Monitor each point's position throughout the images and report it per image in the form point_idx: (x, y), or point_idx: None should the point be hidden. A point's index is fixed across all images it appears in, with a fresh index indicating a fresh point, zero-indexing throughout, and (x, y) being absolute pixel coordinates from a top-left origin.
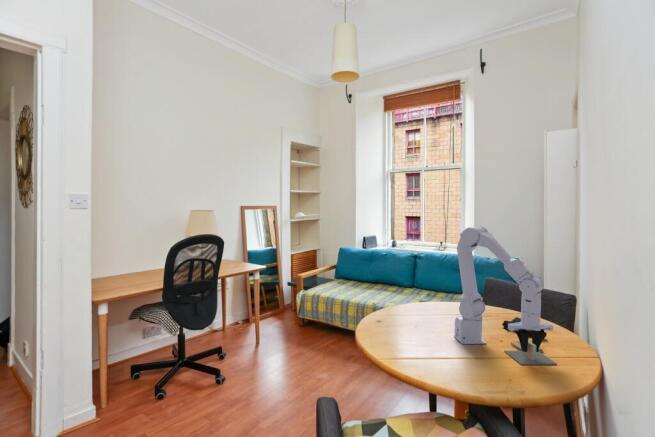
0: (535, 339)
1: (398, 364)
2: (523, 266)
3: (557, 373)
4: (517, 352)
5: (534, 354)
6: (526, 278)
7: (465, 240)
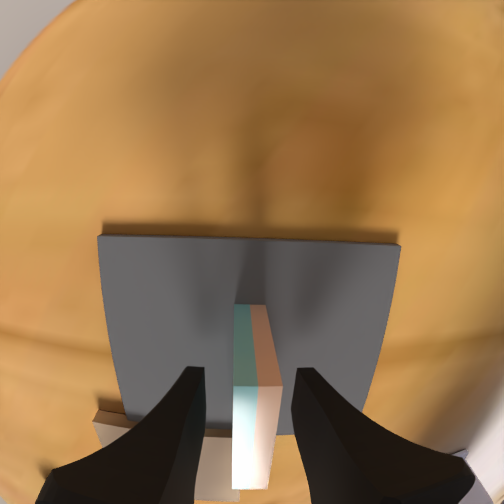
0: (186, 472)
1: None
2: None
3: (199, 90)
4: (289, 414)
5: (250, 329)
6: None
7: None
